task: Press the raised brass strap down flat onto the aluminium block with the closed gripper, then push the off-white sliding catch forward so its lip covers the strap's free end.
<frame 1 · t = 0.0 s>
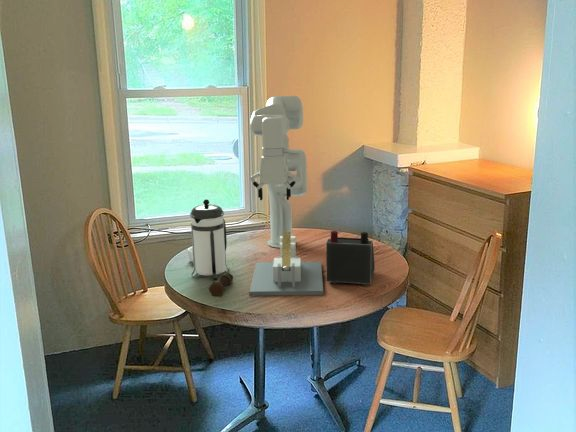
hand: (274, 199, 213), 31 cm above the table, tool pointing down, fingers open, 9 cm apart
catch: (287, 252, 229), point 7 cm above the table, slide at 0.0 cm
teacup: (198, 260, 245), on the table
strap: (286, 251, 214), point 13 cm above the table, hinge at 0.0°
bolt: (223, 289, 214), on the table
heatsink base: (287, 280, 220), on the table
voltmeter: (351, 278, 221), on the table
coffee press: (211, 273, 229), on the table
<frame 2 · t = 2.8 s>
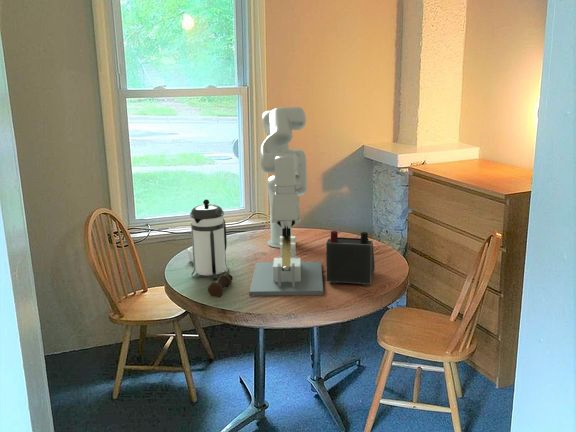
hand: (286, 238, 217), 16 cm above the table, tool pointing down, fingers closed
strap: (286, 251, 214), point 12 cm above the table, hinge at -1.6°, touching gripper
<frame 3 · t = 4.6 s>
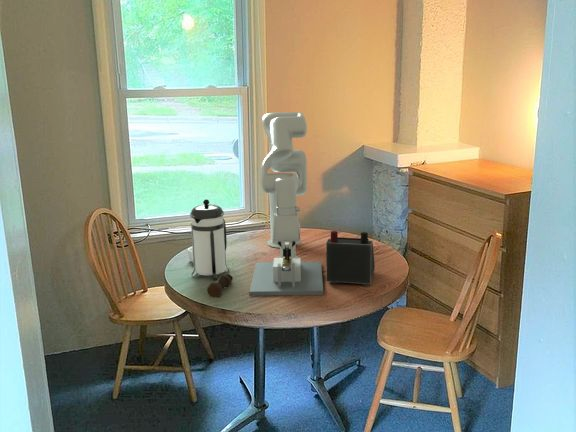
hand: (287, 258, 219), 8 cm above the table, tool pointing down, fingers closed
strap: (286, 261, 216), point 8 cm above the table, hinge at -35.3°, touching gripper
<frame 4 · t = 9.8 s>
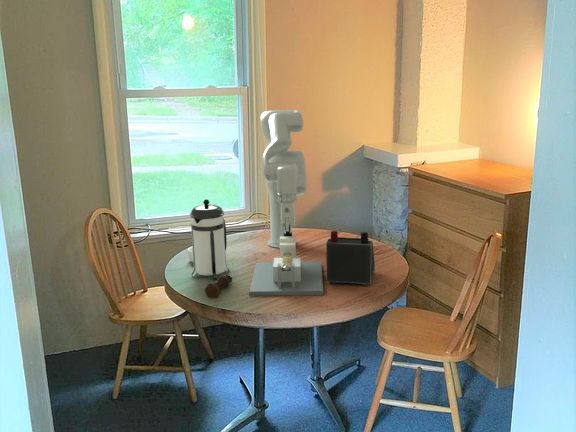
hand: (288, 242, 233), 10 cm above the table, tool pointing down, fingers closed
catch: (287, 252, 228), point 7 cm above the table, slide at 0.6 cm, touching gripper
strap: (286, 261, 216), point 8 cm above the table, hinge at -35.2°
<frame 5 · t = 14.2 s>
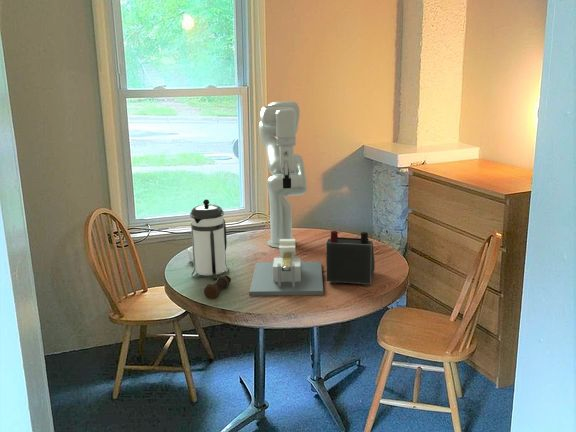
hand: (287, 187, 232), 31 cm above the table, tool pointing down, fingers closed
catch: (287, 255, 225), point 7 cm above the table, slide at 3.9 cm
at the end: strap at -35° (first picture: +0°); catch slide at 3.9 cm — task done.
